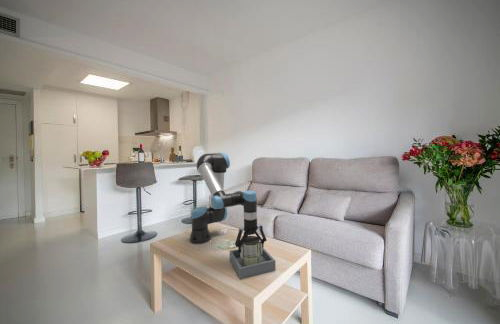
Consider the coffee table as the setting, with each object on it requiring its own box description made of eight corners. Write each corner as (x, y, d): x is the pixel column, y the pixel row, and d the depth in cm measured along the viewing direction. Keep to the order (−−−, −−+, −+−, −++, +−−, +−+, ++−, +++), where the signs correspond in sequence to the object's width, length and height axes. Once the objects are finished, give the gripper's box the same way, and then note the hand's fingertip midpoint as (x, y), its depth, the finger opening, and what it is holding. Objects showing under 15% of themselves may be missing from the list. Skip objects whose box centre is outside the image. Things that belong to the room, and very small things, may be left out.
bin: (229, 259, 128) (229, 250, 128) (260, 253, 135) (260, 244, 135) (240, 279, 109) (239, 268, 109) (275, 270, 116) (275, 260, 116)
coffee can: (240, 260, 125) (239, 237, 124) (256, 257, 129) (255, 234, 128) (245, 269, 116) (244, 244, 115) (262, 265, 119) (262, 241, 118)
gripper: (232, 223, 113) (233, 263, 114) (272, 217, 121) (272, 254, 122) (228, 219, 120) (229, 256, 121) (266, 213, 128) (267, 248, 129)
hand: (251, 255), depth 122 cm, fingers open, 11 cm apart
